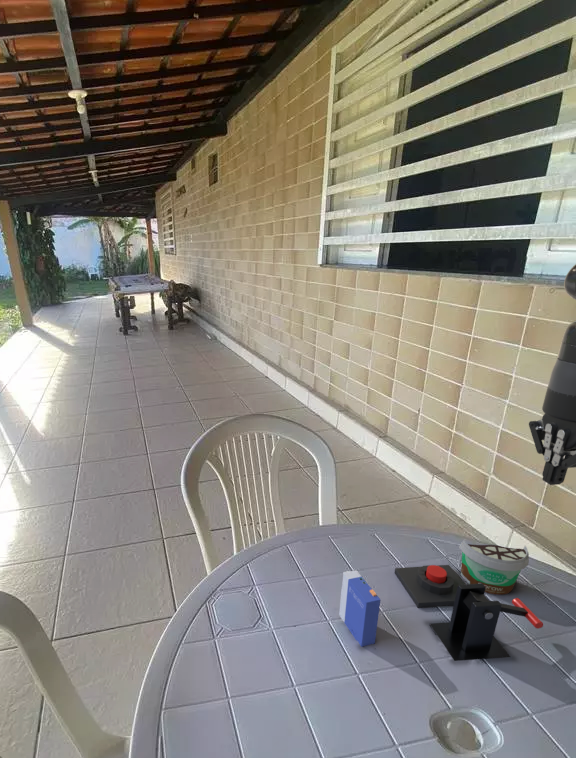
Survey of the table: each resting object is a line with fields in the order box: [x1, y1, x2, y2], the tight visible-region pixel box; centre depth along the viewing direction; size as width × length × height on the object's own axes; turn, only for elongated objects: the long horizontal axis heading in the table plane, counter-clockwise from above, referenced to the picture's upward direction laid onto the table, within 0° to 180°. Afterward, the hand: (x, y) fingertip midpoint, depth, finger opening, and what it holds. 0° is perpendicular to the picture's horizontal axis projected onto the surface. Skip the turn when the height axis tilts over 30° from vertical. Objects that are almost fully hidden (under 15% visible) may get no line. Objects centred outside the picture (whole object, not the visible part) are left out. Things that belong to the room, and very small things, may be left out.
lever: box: [463, 591, 544, 629], centre depth 74 cm, size 12×6×2 cm, turn 91°
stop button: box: [426, 564, 447, 584], centre depth 88 cm, size 4×4×2 cm
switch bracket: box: [428, 583, 512, 662], centre depth 75 cm, size 10×8×12 cm
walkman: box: [338, 569, 381, 648], centre depth 79 cm, size 8×3×12 cm, turn 11°
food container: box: [458, 539, 530, 596], centre depth 87 cm, size 12×6×10 cm, turn 76°
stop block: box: [393, 564, 467, 609], centre depth 89 cm, size 12×10×4 cm
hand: (551, 482), depth 73 cm, fingers closed
